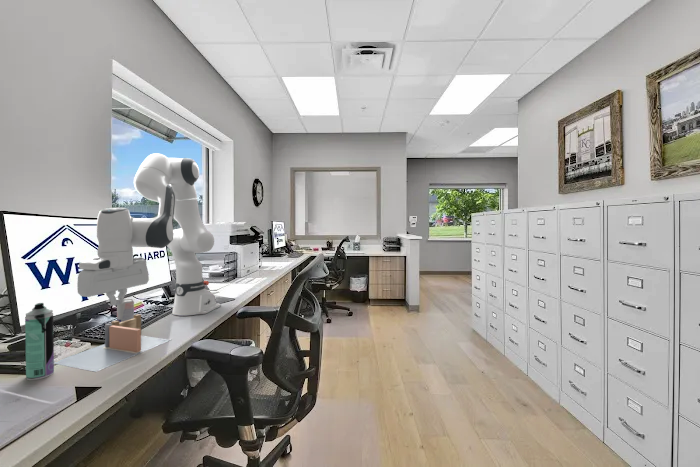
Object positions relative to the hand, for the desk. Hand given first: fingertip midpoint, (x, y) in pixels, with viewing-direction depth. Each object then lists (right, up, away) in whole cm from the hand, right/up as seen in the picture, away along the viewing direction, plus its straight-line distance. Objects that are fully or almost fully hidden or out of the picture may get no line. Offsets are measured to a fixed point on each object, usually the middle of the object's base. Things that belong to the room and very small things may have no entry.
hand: (117, 304), depth 100 cm
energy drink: (-14, -16, +23) cm, 31 cm away
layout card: (-3, -16, +5) cm, 17 cm away
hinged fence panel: (-2, -16, +5) cm, 17 cm away
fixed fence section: (-6, -16, +13) cm, 21 cm away
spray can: (-12, -17, -13) cm, 24 cm away
